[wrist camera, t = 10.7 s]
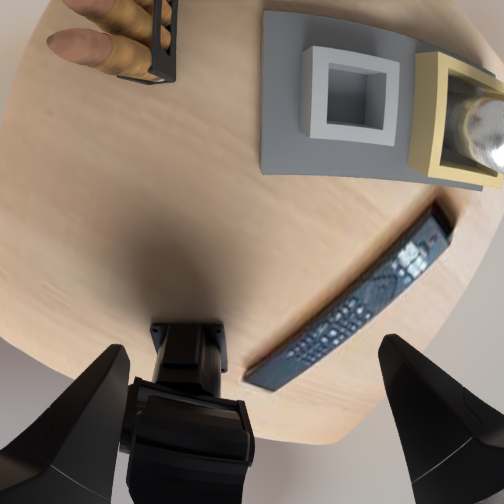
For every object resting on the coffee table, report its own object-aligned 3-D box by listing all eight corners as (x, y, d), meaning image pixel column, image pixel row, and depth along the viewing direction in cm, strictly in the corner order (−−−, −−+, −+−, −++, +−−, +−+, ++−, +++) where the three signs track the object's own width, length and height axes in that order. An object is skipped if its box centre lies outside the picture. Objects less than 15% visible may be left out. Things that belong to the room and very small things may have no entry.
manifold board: (471, 185, 19) (501, 203, 16) (259, 168, 18) (266, 187, 15) (483, 73, 14) (517, 77, 11) (261, 17, 13) (268, -4, 10)
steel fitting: (471, 154, 16) (549, 195, 9) (430, 146, 16) (516, 189, 9) (477, 99, 14) (561, 124, 7) (435, 84, 14) (528, 102, 7)
